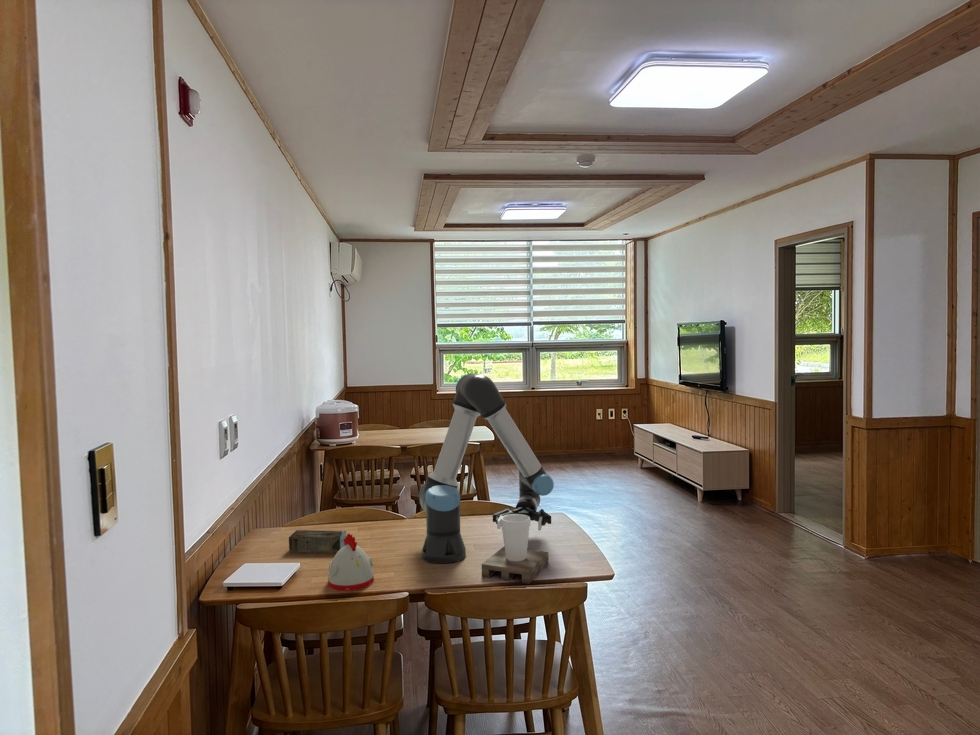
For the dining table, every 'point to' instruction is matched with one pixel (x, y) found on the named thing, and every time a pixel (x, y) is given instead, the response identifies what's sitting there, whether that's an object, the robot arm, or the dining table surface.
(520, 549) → the foam cup
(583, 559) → the dining table surface
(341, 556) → the kitchen timer
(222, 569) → the dining table surface
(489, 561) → the miniature wooden pallet
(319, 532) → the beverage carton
